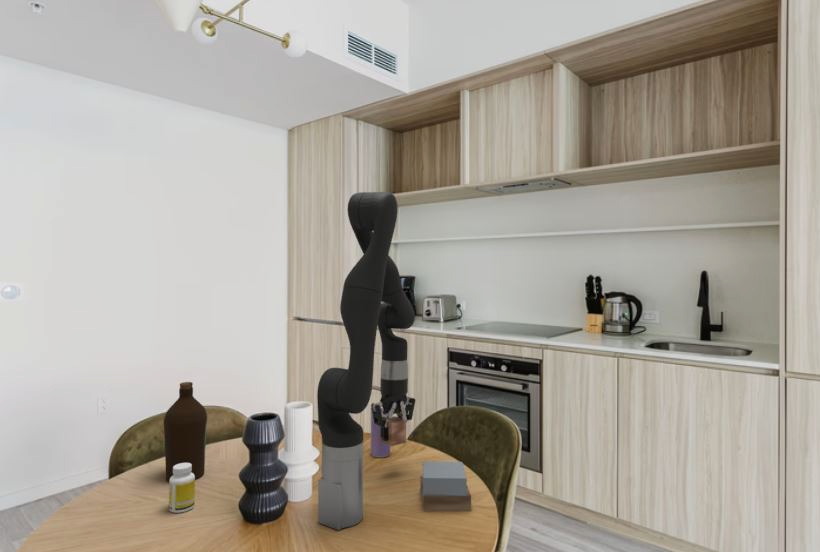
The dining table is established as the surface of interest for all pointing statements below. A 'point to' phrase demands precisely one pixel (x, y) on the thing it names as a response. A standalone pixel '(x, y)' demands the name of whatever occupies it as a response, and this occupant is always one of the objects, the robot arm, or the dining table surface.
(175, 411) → the olive oil
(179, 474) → the supplement bottle
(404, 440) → the terracotta block
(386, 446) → the beverage can
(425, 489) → the slate top slab
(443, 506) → the walnut base slab
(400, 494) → the dining table surface
